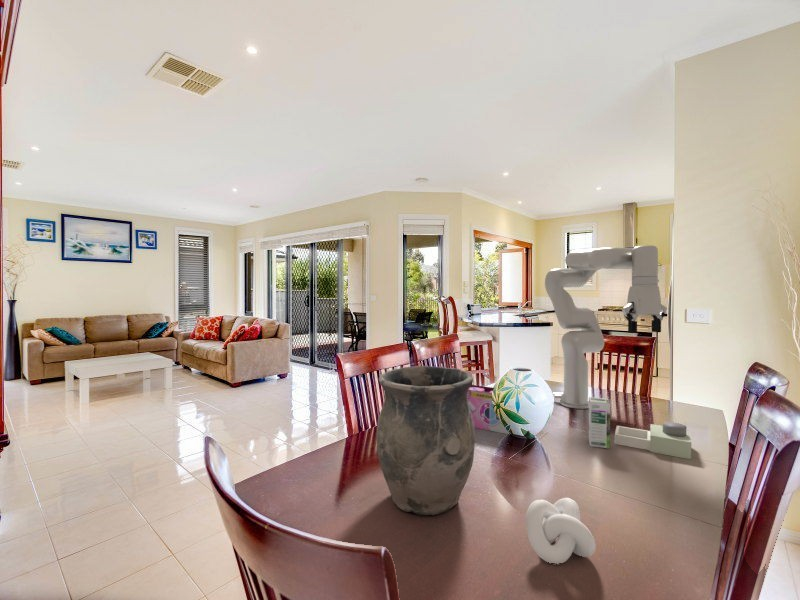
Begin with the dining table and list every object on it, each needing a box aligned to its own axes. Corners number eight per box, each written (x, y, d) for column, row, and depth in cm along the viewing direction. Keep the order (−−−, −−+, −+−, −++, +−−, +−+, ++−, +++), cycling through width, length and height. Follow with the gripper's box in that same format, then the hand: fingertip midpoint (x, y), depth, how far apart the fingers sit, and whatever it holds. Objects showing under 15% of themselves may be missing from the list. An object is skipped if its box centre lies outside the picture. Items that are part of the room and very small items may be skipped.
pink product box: (533, 431, 136) (534, 392, 136) (527, 438, 130) (528, 398, 129) (469, 419, 149) (469, 383, 149) (461, 425, 143) (461, 388, 142)
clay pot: (380, 476, 104) (380, 363, 103) (467, 477, 103) (467, 364, 102) (372, 527, 81) (371, 384, 81) (482, 529, 81) (483, 385, 80)
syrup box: (589, 446, 123) (590, 400, 122) (588, 439, 128) (588, 396, 128) (610, 449, 121) (610, 402, 120) (607, 442, 126) (608, 397, 126)
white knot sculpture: (524, 526, 82) (524, 484, 81) (587, 537, 78) (588, 492, 78) (525, 563, 71) (526, 514, 71) (599, 577, 67) (599, 525, 67)
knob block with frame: (614, 445, 124) (614, 421, 124) (616, 433, 134) (617, 411, 134) (691, 459, 113) (691, 433, 113) (687, 445, 123) (688, 421, 123)
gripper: (656, 282, 139) (655, 330, 139) (614, 282, 135) (614, 332, 135) (675, 281, 131) (675, 332, 132) (632, 281, 127) (632, 334, 128)
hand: (644, 332), depth 133 cm, fingers open, 9 cm apart
